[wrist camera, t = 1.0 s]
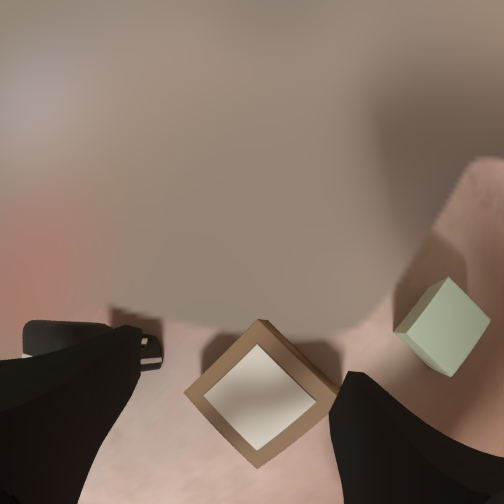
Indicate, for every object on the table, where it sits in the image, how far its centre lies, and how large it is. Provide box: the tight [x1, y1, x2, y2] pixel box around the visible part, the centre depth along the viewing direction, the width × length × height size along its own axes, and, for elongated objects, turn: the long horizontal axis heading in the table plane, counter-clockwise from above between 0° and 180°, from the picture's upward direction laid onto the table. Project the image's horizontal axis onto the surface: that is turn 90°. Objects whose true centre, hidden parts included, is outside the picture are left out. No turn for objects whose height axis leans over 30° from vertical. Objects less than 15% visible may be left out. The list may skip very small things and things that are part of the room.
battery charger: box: [22, 320, 162, 372], centre depth 20 cm, size 7×4×11 cm, turn 94°
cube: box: [393, 277, 491, 377], centre depth 16 cm, size 4×4×4 cm
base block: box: [184, 319, 340, 469], centre depth 19 cm, size 8×8×3 cm
